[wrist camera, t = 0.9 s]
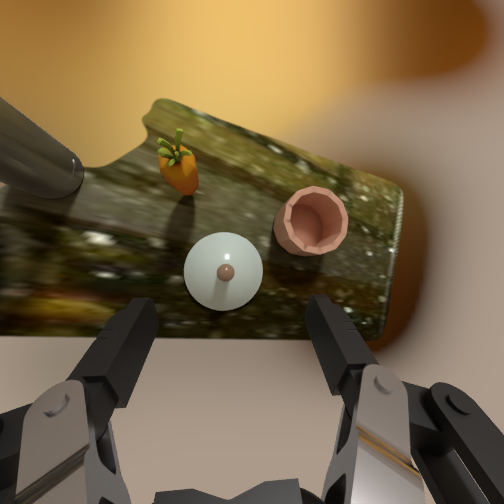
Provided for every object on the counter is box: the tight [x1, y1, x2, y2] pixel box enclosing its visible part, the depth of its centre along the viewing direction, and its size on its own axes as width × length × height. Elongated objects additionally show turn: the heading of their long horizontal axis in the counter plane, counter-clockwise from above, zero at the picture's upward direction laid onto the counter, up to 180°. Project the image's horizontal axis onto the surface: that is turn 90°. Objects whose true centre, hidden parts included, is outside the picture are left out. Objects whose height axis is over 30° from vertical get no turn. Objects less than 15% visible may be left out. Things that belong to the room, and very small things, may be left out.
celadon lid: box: [184, 232, 263, 311], centre depth 31 cm, size 14×14×10 cm
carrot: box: [157, 128, 199, 195], centre depth 28 cm, size 5×5×15 cm
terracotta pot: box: [273, 186, 348, 256], centre depth 35 cm, size 11×11×7 cm
